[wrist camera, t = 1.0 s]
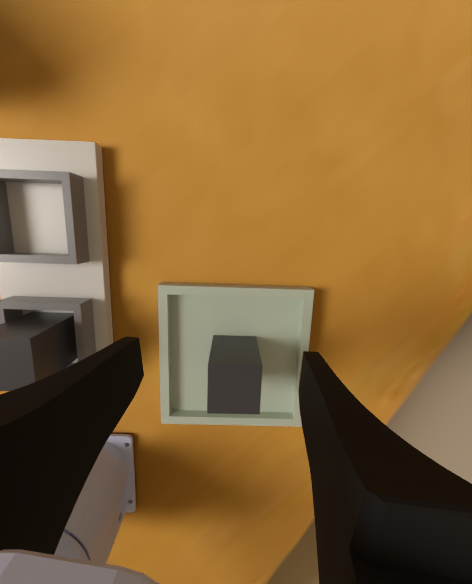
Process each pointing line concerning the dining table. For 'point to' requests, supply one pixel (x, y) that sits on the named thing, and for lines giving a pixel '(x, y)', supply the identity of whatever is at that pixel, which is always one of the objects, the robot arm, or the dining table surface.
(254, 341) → the dark grey upright box
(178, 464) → the dining table surface
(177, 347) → the pale green tray
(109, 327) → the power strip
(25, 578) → the robot arm
